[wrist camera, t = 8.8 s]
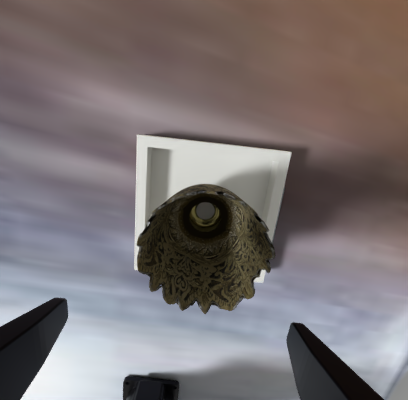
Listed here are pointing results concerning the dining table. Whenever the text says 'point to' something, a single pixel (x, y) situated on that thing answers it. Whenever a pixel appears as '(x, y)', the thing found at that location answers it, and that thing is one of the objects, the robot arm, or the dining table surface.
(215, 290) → the brown hollow flared piece
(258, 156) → the white tray
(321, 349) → the robot arm
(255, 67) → the dining table surface
